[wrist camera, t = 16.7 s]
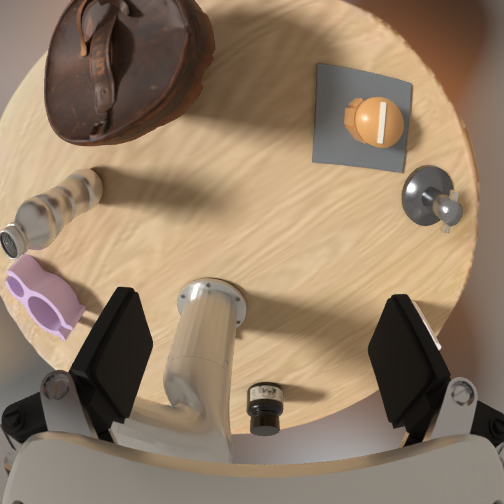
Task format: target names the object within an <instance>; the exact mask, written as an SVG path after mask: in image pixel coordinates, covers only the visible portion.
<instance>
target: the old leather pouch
mask: <svg viewBox="0 0 504 504" xmlns="http://www.w3.org/2000/svg"><path fill="white" fill-rule="evenodd" d="M214 50H215V43H214V36H213V31H212V27H211V23H210V21H209V18H208V16H207V15H206V14H205V13H203V11H202V10H201V8H200V7H199V5H198V4H197V3H196V1H195V0H71V2H70V3H69V4H68V5H67V7H66V8H65V10H64V11H63V13H62V15H61V17H60V19H59V21H58V23H57V25H56V27H55V29H54V32H53V34H52V37H51V41H50V45H49V50H48V56H47V59H46V65H45V79H44V99H45V107H46V112H47V116H48V120H49V123H50V125H51V127H52V129H53V130H54V132H55V133H56V134H57V135H58V136H59V137H60V138H61V139H63V140H64V141H66V142H68V143H71V144H74V145H79V146H100V145H116V144H121V143H125V142H128V141H132V140H134V139H137V138H139V137H141V136H143V135H145V134H146V133H148V132H150V131H152V130H154V129H156V128H157V127H159V126H163V125H165V124H167V123H169V122H171V121H173V120H175V119H177V118H178V117H180V116H181V115H182V114H183V113H184V112H185V111H186V110H187V108H189V107H190V105H191V104H192V103H193V102H194V100H195V99H196V98H197V97H198V96H199V94H200V93H201V91H202V89H203V86H202V85H201V84H200V83H199V82H200V80H201V78H202V75H203V74H204V70H205V69H206V68H207V67H208V66H209V65H210V64H211V61H212V60H213V55H212V53H213V51H214Z"/></svg>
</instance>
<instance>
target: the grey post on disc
mask: <svg viewBox="0 0 504 504" xmlns="http://www.w3.org/2000/svg"><path fill="white" fill-rule="evenodd" d="M458 196H459V193H458V192H457V191H455V190H453V187H452V183H451V180H450V178H449V176H448V175H447V174H446V173H445V172H444V171H443V170H441V169H440V168H438V167H436V166H432V165H425V166H421V167H419V168H417V169H416V170H414V171H413V172H412V173H411V174H410V176H409V177H408V178H407V180H406V182H405V184H404V187H403V191H402V205H403V209H404V211H405V213H406V214H407V216H408V217H409V218H410V219H411V220H412V221H413V222H415V223H416V224H418V225H422V226H429V225H433V224H435V223H437V222H438V221H440V220H442V221H443V222H442V226H441V230H442V231H443V232H444V233H449V230H450V226H454V225H456V224H457V223H458V222H459V221H460V219H461V217H462V206H461V205H460V204H459V203H458V202H457V200H458Z"/></svg>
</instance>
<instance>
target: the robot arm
mask: <svg viewBox="0 0 504 504" xmlns="http://www.w3.org/2000/svg"><path fill="white" fill-rule="evenodd" d="M177 308H178V311H179V313H180V315H181V318H180V321H179V324H178V327H177V330H176V334H175V337H174V340H173V343H172V347H171V350H170V353H169V356H168V360H167V364H166V367H165V370H164V374H163V385H164V390H165V393H166V395H167V397H168V399H169V401H170V403H171V405H172V406H169V405H163V404H160V403H156V402H153V401H150V400H147V399H144V398H140V397H137V396H136V395H137V392H138V389H139V386H140V383H141V380H142V377H143V374H144V371H145V368H146V365H147V362H148V360H149V357H150V354H151V351H152V348H153V340H152V337H151V334H150V331H149V328H148V324H147V321H146V318H145V315H144V311H143V308H142V305H141V301H140V297H139V294H138V293H137V292H135V291H134V289H133V288H130V287H118V288H117V289H116V290H115V292H114V293H113V295H112V297H111V298H110V300H109V301H108V303H107V305H106V306H105V308H104V310H103V311H102V313H101V315H100V316H99V318H98V320H97V321H96V323H95V324H94V326H93V328H92V329H91V331H90V333H89V335H88V337H87V338H86V340H85V342H84V344H83V346H82V347H81V349H80V351H79V353H78V355H77V357H76V359H75V360H74V362H73V364H72V366H71V368H70V370H69V372H66V371H64V370H55V371H52V372H50V373H48V374H47V375H46V376H45V377H44V378H43V380H42V382H41V385H40V392H38V393H36V394H34V395H31V396H29V397H27V398H25V399H22V400H20V401H18V402H16V403H13V404H11V405H9V406H8V407H7V408H6V409H5V410H4V412H3V415H2V423H1V424H0V504H504V414H502V413H501V412H499V411H497V410H495V409H493V408H491V407H490V406H488V405H485V404H484V403H482V402H480V401H478V400H477V397H478V394H477V390H476V388H475V386H474V385H473V384H472V383H471V381H469V380H467V379H466V378H462V377H457V378H454V379H452V380H451V379H450V375H451V374H450V372H449V370H448V368H447V366H446V364H445V362H444V360H443V358H442V356H441V354H440V352H439V350H438V348H437V346H436V344H435V342H434V340H433V338H432V336H431V335H430V333H429V331H428V329H427V327H426V325H425V324H424V322H423V320H422V318H421V317H420V315H419V313H418V311H417V310H416V308H415V306H414V304H413V303H412V301H411V299H410V298H409V296H408V295H407V294H394V295H392V296H391V298H389V299H388V300H387V302H386V304H385V307H384V310H383V312H382V315H381V317H380V320H379V322H378V325H377V327H376V329H375V332H374V334H373V336H372V339H371V341H370V343H369V346H368V354H369V357H370V360H371V363H372V367H373V370H374V373H375V376H376V379H377V383H378V386H379V389H380V392H381V396H382V400H383V403H384V407H385V411H386V414H387V418H388V420H389V422H391V423H392V425H393V428H399V427H403V426H405V427H406V431H407V432H406V434H405V436H404V438H403V440H402V442H401V444H400V446H399V448H398V449H394V450H390V451H385V452H381V453H376V454H371V455H366V456H361V457H355V458H349V459H342V460H335V461H326V462H316V463H304V464H286V465H246V464H231V462H232V453H233V452H232V439H231V431H230V420H229V401H230V387H231V375H232V365H233V354H234V344H235V334H236V328H237V327H239V326H240V325H241V324H242V322H243V321H244V319H245V317H246V312H247V305H246V301H245V299H244V297H243V295H242V294H241V293H240V291H239V290H237V289H236V288H235V287H234V286H232V285H231V284H229V283H227V282H224V281H222V280H218V279H211V278H203V279H198V280H194V281H192V282H190V283H188V284H187V285H185V286H184V287H183V288H182V290H181V291H180V293H179V296H178V299H177Z"/></svg>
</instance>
